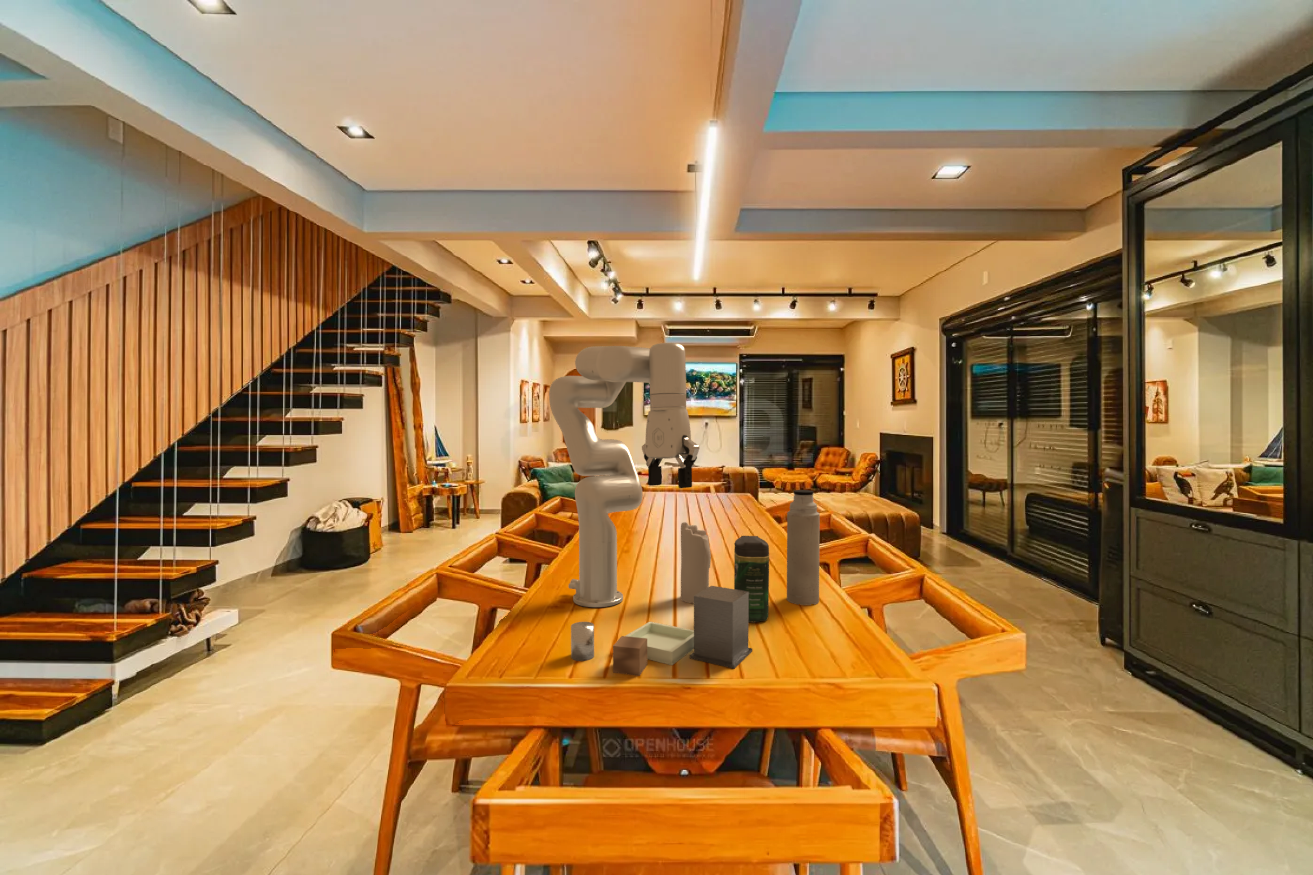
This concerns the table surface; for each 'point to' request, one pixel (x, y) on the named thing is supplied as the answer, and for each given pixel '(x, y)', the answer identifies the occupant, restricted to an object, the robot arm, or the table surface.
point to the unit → (721, 626)
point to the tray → (665, 641)
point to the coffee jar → (753, 574)
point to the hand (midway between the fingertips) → (669, 486)
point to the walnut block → (630, 655)
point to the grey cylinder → (582, 641)
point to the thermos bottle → (803, 549)
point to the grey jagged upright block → (694, 561)
